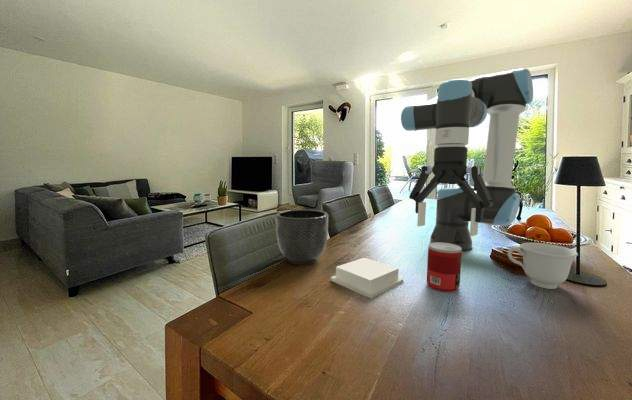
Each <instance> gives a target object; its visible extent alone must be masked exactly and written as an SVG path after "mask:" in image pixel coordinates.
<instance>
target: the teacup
mask: <svg viewBox="0 0 632 400" xmlns="http://www.w3.org/2000/svg"><path fill="white" fill-rule="evenodd" d="M514 251H517V253H518V256H522V260H523V261H522V262H521V261H519V260H517V259H516V258H514V257H513V255H512V253H514ZM507 256H508V257H507V258H508V259H509V260H510V261H511V262H512V263H514V264H517V265H519V266H521V268H522V269H523V270H524V274H525V275H526V276H527V277H528V278H530V284H532V285H533V286H535V287H538V288H541V289H548V290H553V289H557V288H558V285H559V284H562V283H564V282H565V281H566V280H567V279H568V277H569V276H570V275H569V274H570V271H571V268H572V263H573V262H574V260H575V257H577V256H579V254H578V252H577V251H575V250H574V249H572V248H569V247H565V246H562V245H557V244H550V243H544V242H522V243H520V244H519V246H511V247H509V248H508V251H507Z"/></svg>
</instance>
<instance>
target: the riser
mask: <svg viewBox="0 0 632 400" xmlns="http://www.w3.org/2000/svg"><path fill="white" fill-rule="evenodd" d="M399 270H400V269H399V268H398V267H394V266H392V265H388V264H385V263H383V262H380V261H376V260H373V259H370V258H367V257H362V258H359V259H356V260H353V261H350V262H346V263H344V264H340V265H338V266H335V275H333V276H330V282H331V281H332V282H334V283H335V284H338V285H340V286H343V287H344V288H347V289H348V290H351V291H353V292H355V293H358V294H359V295H362V296H364V297H366V298H369V299H373V298H375V297H377V296H379V295H381V294H383V293H385V292H387V291H389V290H392V289H393V288H395V287H396V288H397V286H400V285H401V284H404V279H403V278H400V277H399Z"/></svg>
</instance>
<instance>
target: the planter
mask: <svg viewBox="0 0 632 400" xmlns="http://www.w3.org/2000/svg"><path fill="white" fill-rule="evenodd" d="M275 231H276V240H277V245H278V248H279V250H280V252H281V254H282V255H283V256H284V257H285V259H287V261H288V262H289V263H290V262H291V263H290V264H292V263H293V265H295V264H297V265H298V266H306V265H307V266H308V265H311V264H313V263H316V261H317V259H318V258H319V257H320V256H321V255H322V254H323V252H324V251H325V249H326V247H327V246H326V245H327V241H328V233H329V213H328V212H326V211H324V210H317V209H289V210H282V211H279V212H277V213H276V214H275Z"/></svg>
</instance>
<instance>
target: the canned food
mask: <svg viewBox="0 0 632 400" xmlns="http://www.w3.org/2000/svg"><path fill="white" fill-rule="evenodd" d="M427 249H428V250H427V265H426V266H427V268H426V284H427V286H428V287H429V288H431V289H433V290H435V291H438V292H442V293H455V292H456V291H458V290H459V288H460V283H461V269H462V255H463V254H462V253H463V250H462V248H461V247H460V246H458V245H455V244H450V243H442V242H435V243H430V242H429V244H428V248H427Z"/></svg>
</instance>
